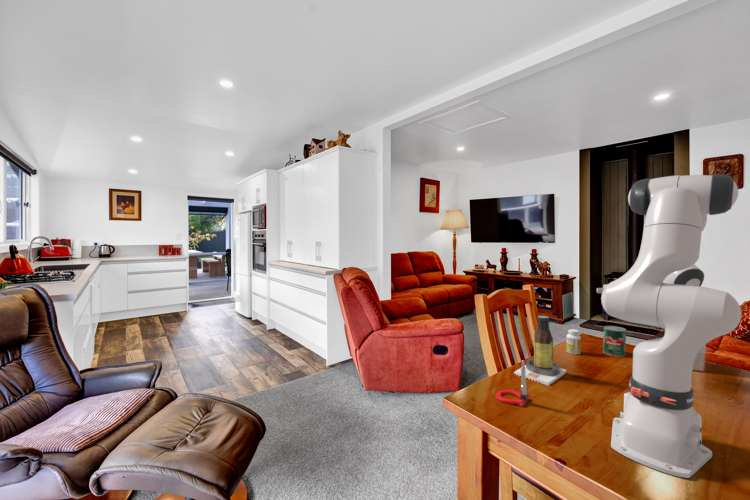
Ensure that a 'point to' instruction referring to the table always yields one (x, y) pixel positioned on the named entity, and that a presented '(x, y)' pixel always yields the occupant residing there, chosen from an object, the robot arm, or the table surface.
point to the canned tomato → (614, 340)
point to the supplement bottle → (573, 342)
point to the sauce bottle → (543, 344)
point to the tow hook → (522, 395)
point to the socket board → (542, 377)
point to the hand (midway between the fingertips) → (605, 292)
